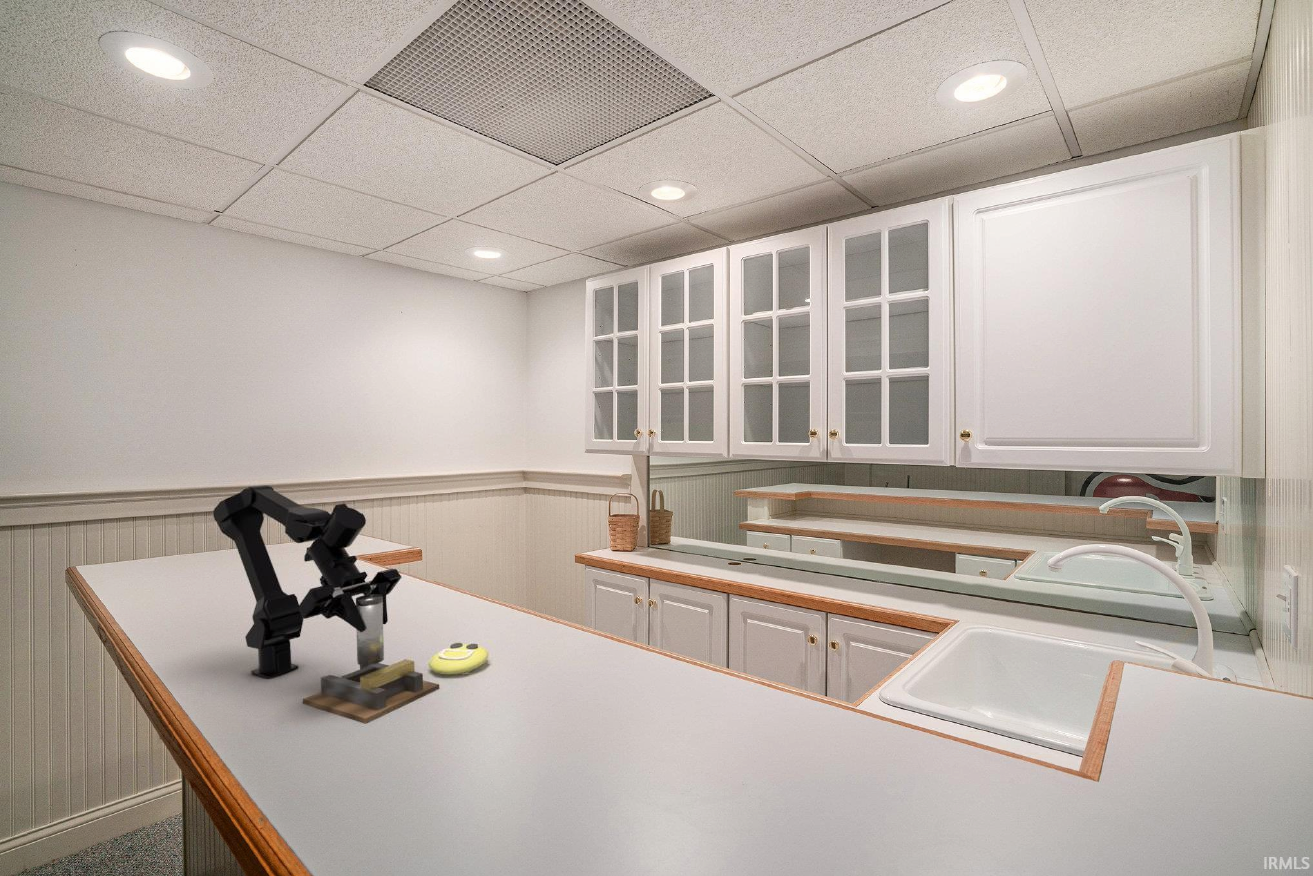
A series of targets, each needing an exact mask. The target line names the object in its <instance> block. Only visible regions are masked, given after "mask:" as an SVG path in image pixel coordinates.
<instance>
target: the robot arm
mask: <svg viewBox="0 0 1313 876" xmlns="http://www.w3.org/2000/svg"><path fill="white" fill-rule="evenodd" d="M264 514H265V515H266V516H268V517H270V518H271V519H273V520H275V521H276V522H278V523H279V524H281V525H282V526H283V527H284V533H285V534H286V535H287V536H288V538H290V539H291V540H292V541H293V542H295V544H296V543H297V544H303V543H308V542H312V543H311V545H310V546H309V547H306V552H305V554H304V557H303V558H304V560H303V561H304V562H312V561H313V563H314V564H315V566H316V568H318V570H319V572H320V574H321V577H319V583H320V584H321V585H320V586H316V587H313V588H310V589H309V590H308V592H307V593H306V595H305V596H304V597H303V599H302V601H300V602H299V600H298V596H297V595H296V594H295V593H291V594H288V593H286V592H284V591H283V589H282V587H281V584H280V581H279V578H278V576H277V573H276V571H275V568H274V565H273V562H272V560H271V556H270V555H269V552H268V549H267V546H266V544H265V541H264V538H263V536H262V533H261V529H262V527H263V524H264V521H265V516H264ZM212 515H213V519H214V521H215V522H216V524H217V526H218V527H219V529H220V531H221V533H222V534H223V535H225V536H226V537H227V538H229V539H231V540H232V541H233V542H234V544H235V546H236V550H237V552H238V554H239V557H240V560H241V563H242V566H243V568H244V571H245V573H246V577H247V579H248V582H249V585H250V588H251V590H252V592H253V596H254V598H255V599H254V600H255V602H256V604H255V606H254V609H253V614H252V622H253V624H252V626H251V628H250V629H249V630H248V632H247V633H246V635H245V637H244V638H245V641H246V646H247V647H248V648H251V649H254V650H255V649H256V650H257V653H258V654H257V657H258V668H256V669H253V670H251V671H250V673H251V674H253V675H255V676H259V677H262V678H265V679H270V678H273V677H277V676H279V675H282V674H285V673H288V672H290V671H294V670H296V669H299V665H298V664H294V663H292V650H291V640H293V639H297V638H300V637H301V633H302V629H303V625H304V620H307V619H309V618H313V617H315V616H316V617H317V616H319V615H321V616H323V617H324V618H325V619H328V620H329V619H332V618H333V617H338V618H340V619H341V620H343V621H344V622H346V623H347V624H348V625H350V626H351V627H353V628H354V629H355V630H356V629H357V630H358V631H360V632H363V631H364V630H365V626H364V623H363V620H362V618H361V616H360V613H359V611H358V609H357V607H356V602H355V600H354V599H353V597H354V596H359V595H362V596H364V595H370V594H380V595H382V598H383V625H386V624H387V623H388V622H389V619H388V617H389V616H388V608H387V607H388V606H387V595H389V594H390V593H391V592H393V590H394V588H395V587H396V586H397V584H398V583H399V582H400V580H401V579H402V577H403V576H402V575H401V574H400V572H399V570H398V569H397V568H388V569H386V570H381V571H377V572H376V574H375V575H374V577H373V578H372V580H369V581H366V578H367V577H368V573H367V572H366V571H362V572H361V571H360V570H359V568H358V567H357V565H356V562H357V561H358V558H357V556H356V555H352V556H351V555H350V554H349V553H348V551H347V550H346V548H349V547H350V546H352V544H353V543H354V542H355V540H356V538H357V537H358V535H360V533H361V531H362V529H363V528H364V527H365V525H366V524H367V519H366V517H365V515H364V514H363V513H362V512H360V511H358V510H357V509H355V508H353V507H348V505H347V504H346V503H339V504H335V505H334V507H333V509H332V511H331V513H330V512H328V511H327V510H324V509H321V508H316V507H308V506H302V505H300V504H299V503H297V502H295V501H294V500H291V499H290V498H288V497H286V496H285V495H283V494H281V493H279V492H277V491H276V490H274V488H273V487H272V486H270V485H257V486H256V485H255V486H248V487H246V488H243V490H241V491H240V492H238V493H236V494H234V495H231V496H229V497H226V498H225V499H222V500H221V501H219V503H218V504H217V505H216V506H215V508H213V514H212Z"/></svg>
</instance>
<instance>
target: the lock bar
mask: <svg viewBox="0 0 1313 876" xmlns="http://www.w3.org/2000/svg"><path fill="white" fill-rule="evenodd" d="M412 672H416V671H415V661H414V660H411V659H406V658H405V659H403V660H401V661H398V662H396V663H393V664H390V665H389V666H387V667H385V668H382V669H380V670H377V671H375V672H372V673H370V674H367V675H365V676H362V677H360V687H361V689H365V690H368V691H370V690H372V689H375V688H377V687H379V686H382V685H384V684H386V683H389V682H391V681H393V680H396V679H398V678H401V677H403V676H405V675H408V674H410V673H412Z"/></svg>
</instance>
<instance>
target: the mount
mask: <svg viewBox="0 0 1313 876" xmlns="http://www.w3.org/2000/svg"><path fill="white" fill-rule="evenodd" d="M387 666H390V665H389V664H385V663H382V662H379V663H376V664H372V665H359V669H357V670H354V671H353V672H350V673H347V674H344V675H341V676H337V675H332V674H327V675H326V676H322V677H320V691H319V692H316V693H314V694H311V695H308V696H306V697H304V698H302V700H301V701H302V704H303V705H304V704H305V705H307V706H310V707H314V708H315V709H316V708H318V709H320V710H323V711H326V712H328V713H333V714H336V715H338V716H339V715H340V716H342V717H345V718H348V719H352V720H355V721H357V722H361V723H364V724H367V723H369V722H372V721H374V720H376V719H378V718H380V717H382V716H384V715H386V714H388V713H390V712H394V711H395V710H397V709H399V708H401V707H403V706H405V705H408V704H409V703H412V702H414V701H415V700H418V699H420V698H422V697H425V696H426V695H429V694H431V693H433V692H435V691H437V690H439V689H440V683H435V682H431V681H428V680H424V674H423V673H422V672H419V671H415V672H412V673H410V674H408V675H405V676H403V677H401V678H398V679H396V680H393V681H391V682H389V683H386V684H384V685H382V686H379V687H377V688H375V689H372V690H370V691H368V690H365V689H361V687H360V677H362V676H365V675H367V674H370V673H372V672H375V671H377V670H380V669H382V668H385V667H387Z"/></svg>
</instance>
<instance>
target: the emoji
mask: <svg viewBox="0 0 1313 876" xmlns="http://www.w3.org/2000/svg"><path fill="white" fill-rule="evenodd" d="M488 658H489V652H488V650H487V649H486V648H485V647H483V646H481V645H478V643H470V644H463V643H462V642H455V643H452V644H451V645H450V646H449V647H448V648H443V649H442V650H440V651H439V652H437V653H436V654H434V655H433V656H432V657H431V659H430V661H429V663H428V666H429V668H430V669H431V670H432V671H433V672H434V673H435V674H440V675H442V674H443V675H467V674H468V673H470V672H471V671H473V670H475V669H477V668H479V667H480V666H482V665H483V664H485V663H486V661H487V659H488Z"/></svg>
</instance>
